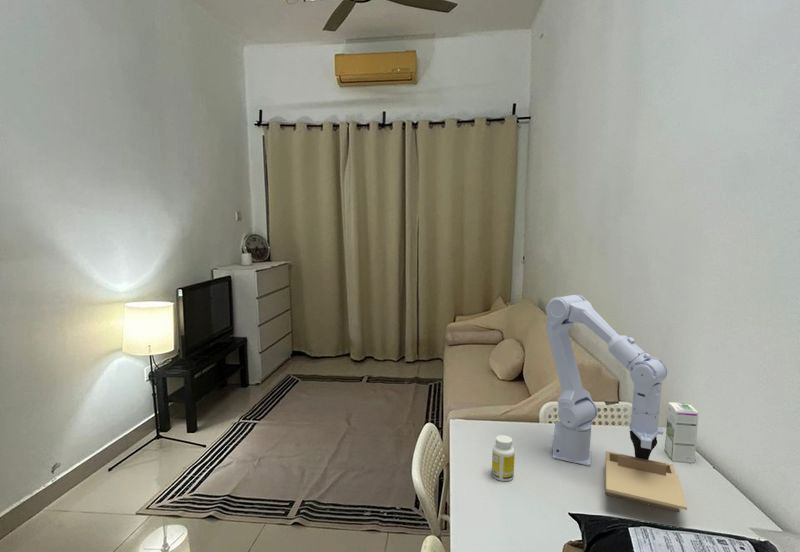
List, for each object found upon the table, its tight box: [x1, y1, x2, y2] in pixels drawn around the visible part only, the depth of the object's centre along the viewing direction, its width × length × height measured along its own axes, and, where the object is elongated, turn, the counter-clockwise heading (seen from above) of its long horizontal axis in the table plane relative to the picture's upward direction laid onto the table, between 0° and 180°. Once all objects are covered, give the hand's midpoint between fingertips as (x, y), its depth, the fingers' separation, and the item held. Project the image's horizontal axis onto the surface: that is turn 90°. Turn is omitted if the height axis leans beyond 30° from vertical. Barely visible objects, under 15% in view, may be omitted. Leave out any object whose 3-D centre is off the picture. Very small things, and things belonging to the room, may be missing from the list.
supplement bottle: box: [491, 434, 516, 482], centre depth 113 cm, size 5×5×10 cm
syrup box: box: [664, 401, 699, 464], centre depth 123 cm, size 6×6×14 cm
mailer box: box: [604, 450, 680, 513], centre depth 109 cm, size 15×13×4 cm
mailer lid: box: [605, 453, 688, 511], centre depth 102 cm, size 15×13×3 cm
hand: (640, 463), depth 109 cm, fingers closed
